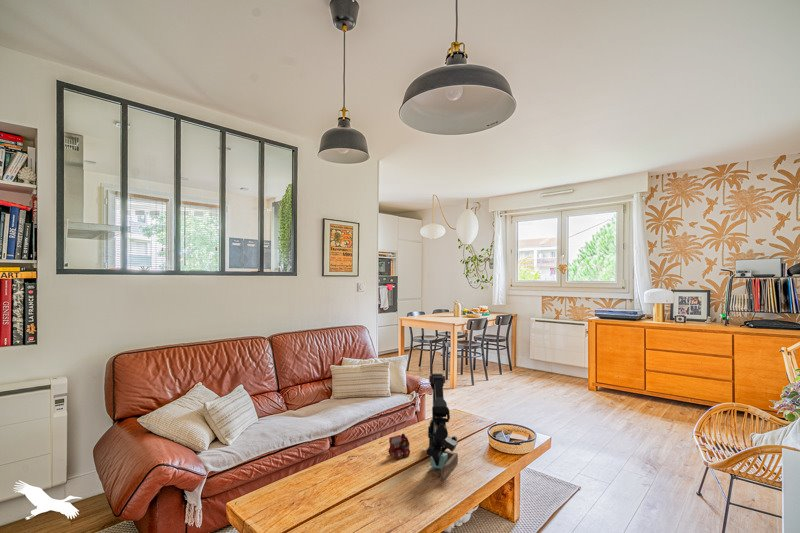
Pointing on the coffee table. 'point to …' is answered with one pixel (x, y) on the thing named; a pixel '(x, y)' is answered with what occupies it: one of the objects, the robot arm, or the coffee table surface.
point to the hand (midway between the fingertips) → (438, 463)
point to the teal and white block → (440, 460)
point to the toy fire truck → (399, 446)
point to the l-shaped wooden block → (447, 465)
